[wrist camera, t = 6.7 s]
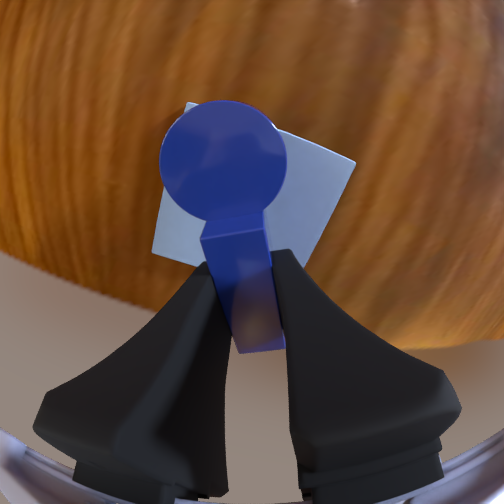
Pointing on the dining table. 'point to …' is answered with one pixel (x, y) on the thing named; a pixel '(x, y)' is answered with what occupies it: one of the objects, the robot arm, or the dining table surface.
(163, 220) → the blue mat
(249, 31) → the dining table surface
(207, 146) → the blue spoon
